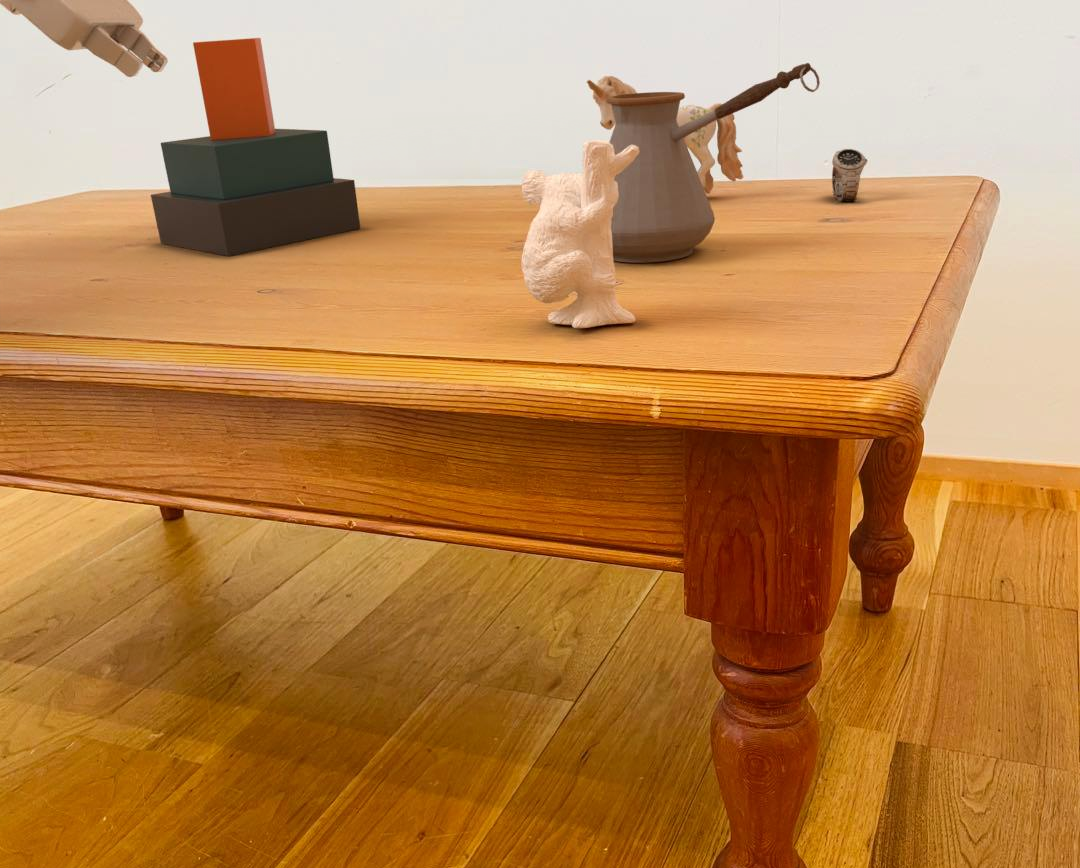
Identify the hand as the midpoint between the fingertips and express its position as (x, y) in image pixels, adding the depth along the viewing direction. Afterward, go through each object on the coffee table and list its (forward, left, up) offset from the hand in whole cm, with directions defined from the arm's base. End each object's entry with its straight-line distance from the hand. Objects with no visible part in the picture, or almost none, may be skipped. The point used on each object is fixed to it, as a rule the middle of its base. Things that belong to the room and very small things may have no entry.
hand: (151, 69), depth 107 cm
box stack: (+8, -2, -17) cm, 19 cm away
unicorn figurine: (+49, -16, -17) cm, 54 cm away
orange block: (+8, -2, -7) cm, 10 cm away
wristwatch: (+66, -24, -17) cm, 72 cm away
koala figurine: (+23, -55, -17) cm, 62 cm away
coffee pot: (+39, -41, -17) cm, 59 cm away
